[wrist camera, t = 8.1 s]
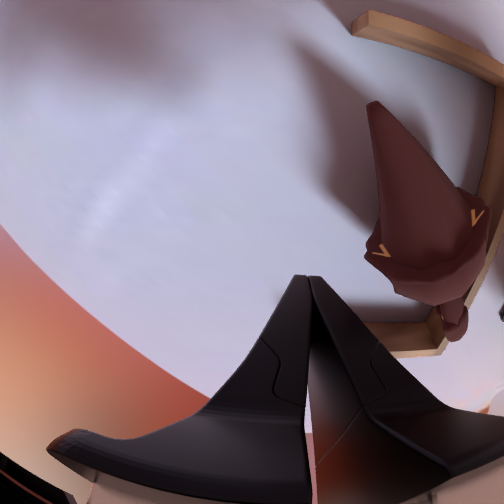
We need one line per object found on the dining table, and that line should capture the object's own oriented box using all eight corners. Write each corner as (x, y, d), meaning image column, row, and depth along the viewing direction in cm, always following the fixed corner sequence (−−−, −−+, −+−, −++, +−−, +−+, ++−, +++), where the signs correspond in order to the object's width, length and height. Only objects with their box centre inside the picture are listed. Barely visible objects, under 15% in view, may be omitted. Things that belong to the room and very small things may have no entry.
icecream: (283, 181, 9) (405, 368, 16) (486, 90, 5) (507, 337, 12) (301, 117, 14) (399, 287, 21) (422, 59, 10) (482, 258, 17)
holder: (504, 79, 10) (534, 84, 8) (429, 328, 21) (440, 355, 18) (352, 22, 11) (368, 9, 8) (308, 327, 21) (310, 358, 19)
